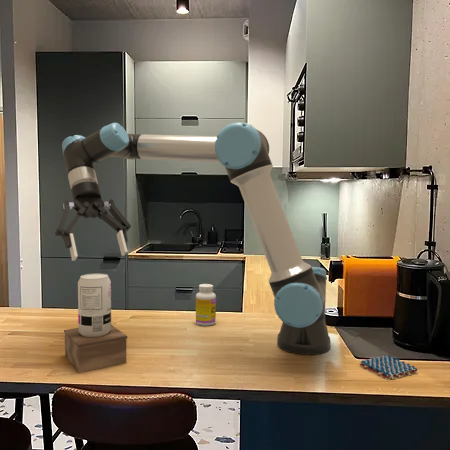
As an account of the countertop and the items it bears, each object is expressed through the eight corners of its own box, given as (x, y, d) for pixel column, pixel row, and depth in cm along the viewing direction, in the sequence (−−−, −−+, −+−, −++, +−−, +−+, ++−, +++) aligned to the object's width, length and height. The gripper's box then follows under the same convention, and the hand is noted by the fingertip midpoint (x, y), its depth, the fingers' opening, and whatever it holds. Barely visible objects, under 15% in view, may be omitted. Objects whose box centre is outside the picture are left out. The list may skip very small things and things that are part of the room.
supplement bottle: (213, 327, 149) (213, 288, 148) (193, 325, 150) (193, 287, 149) (217, 321, 156) (217, 283, 154) (198, 319, 157) (198, 282, 156)
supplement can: (72, 332, 120) (71, 276, 118) (100, 326, 126) (99, 271, 124) (89, 340, 114) (88, 280, 113) (117, 332, 120) (117, 276, 119)
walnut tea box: (127, 362, 118) (127, 336, 118) (78, 373, 111) (78, 344, 111) (109, 347, 129) (109, 322, 129) (64, 355, 122) (63, 330, 122)
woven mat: (356, 367, 118) (357, 359, 118) (387, 361, 123) (387, 353, 123) (388, 383, 109) (388, 375, 109) (419, 375, 114) (419, 367, 114)
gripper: (122, 193, 139) (138, 257, 132) (35, 194, 124) (48, 266, 117) (130, 180, 133) (148, 246, 126) (40, 179, 119) (55, 254, 111)
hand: (100, 256), depth 122 cm, fingers open, 13 cm apart
